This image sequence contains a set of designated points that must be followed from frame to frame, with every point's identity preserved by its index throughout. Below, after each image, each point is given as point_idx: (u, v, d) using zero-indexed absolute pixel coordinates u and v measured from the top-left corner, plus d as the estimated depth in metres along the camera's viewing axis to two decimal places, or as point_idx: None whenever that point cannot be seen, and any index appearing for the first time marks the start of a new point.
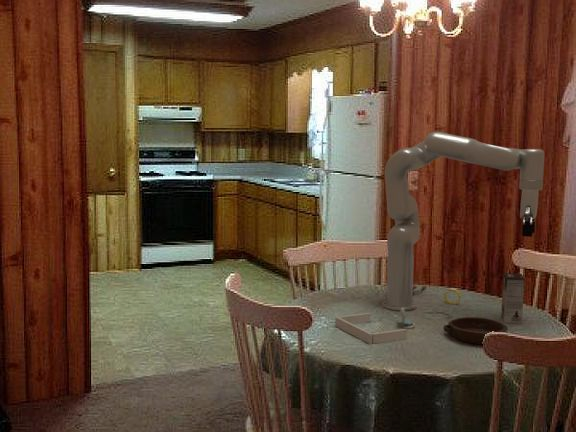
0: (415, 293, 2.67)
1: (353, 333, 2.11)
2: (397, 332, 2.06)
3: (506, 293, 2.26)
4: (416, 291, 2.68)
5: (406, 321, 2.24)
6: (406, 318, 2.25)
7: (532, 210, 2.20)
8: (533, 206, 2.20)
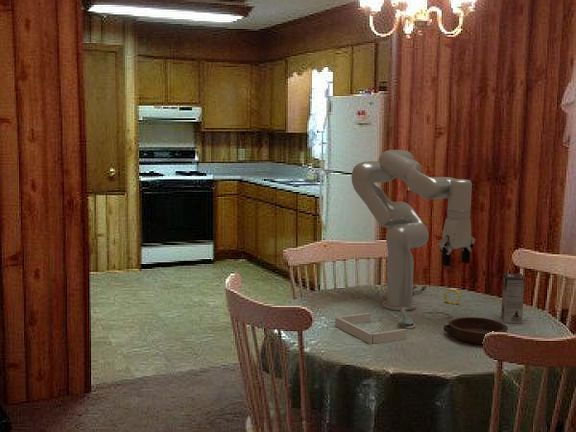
0: (415, 293, 2.67)
1: (353, 333, 2.11)
2: (397, 332, 2.06)
3: (506, 293, 2.26)
4: (416, 291, 2.67)
5: (407, 321, 2.24)
6: (407, 318, 2.25)
7: (450, 240, 2.21)
8: (451, 236, 2.21)
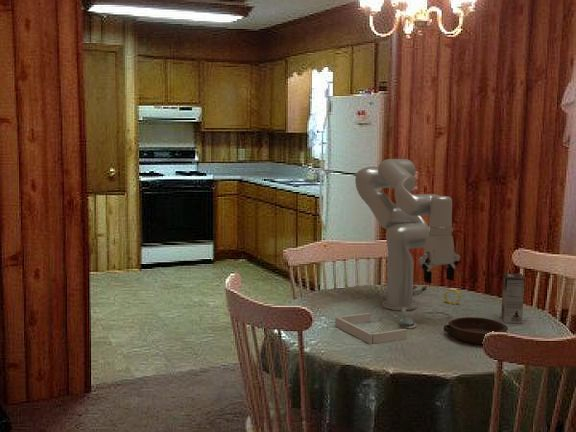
0: (415, 293, 2.67)
1: (353, 333, 2.11)
2: (397, 332, 2.06)
3: (506, 293, 2.26)
4: (416, 291, 2.67)
5: (407, 321, 2.24)
6: (407, 318, 2.25)
7: (430, 257, 2.22)
8: (431, 253, 2.22)
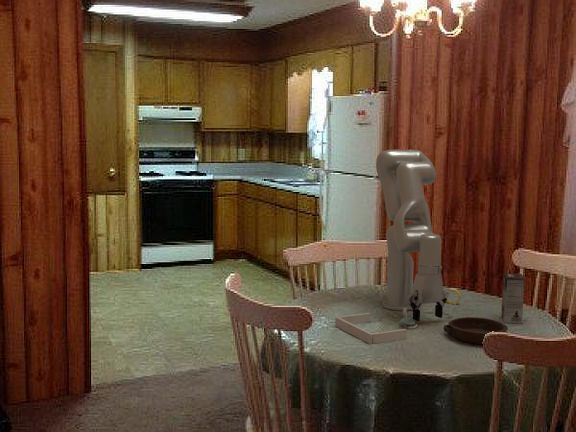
0: None
1: (353, 333, 2.11)
2: (397, 332, 2.06)
3: (506, 293, 2.26)
4: None
5: (408, 321, 2.24)
6: (409, 318, 2.25)
7: (419, 295, 2.22)
8: (419, 291, 2.21)
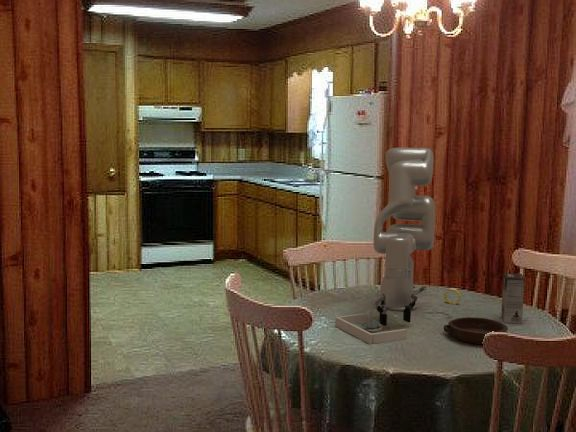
0: None
1: (353, 333, 2.11)
2: (397, 332, 2.06)
3: (506, 293, 2.26)
4: (413, 291, 2.67)
5: (374, 324, 2.19)
6: (375, 321, 2.20)
7: (385, 299, 2.16)
8: (386, 295, 2.16)
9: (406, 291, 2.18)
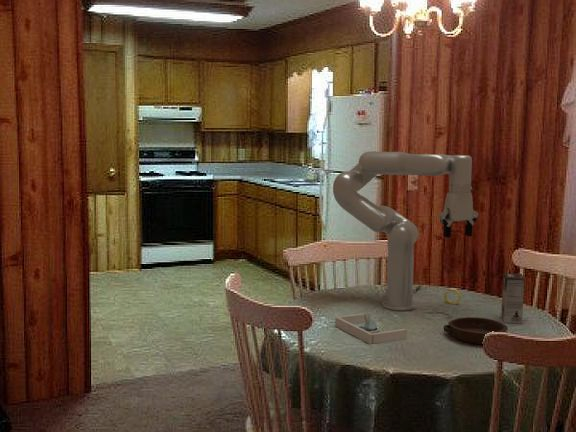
0: None
1: (353, 333, 2.11)
2: (397, 332, 2.06)
3: (506, 293, 2.26)
4: None
5: (371, 326, 2.18)
6: (372, 323, 2.19)
7: (450, 213, 2.33)
8: (451, 209, 2.33)
9: (469, 206, 2.35)
